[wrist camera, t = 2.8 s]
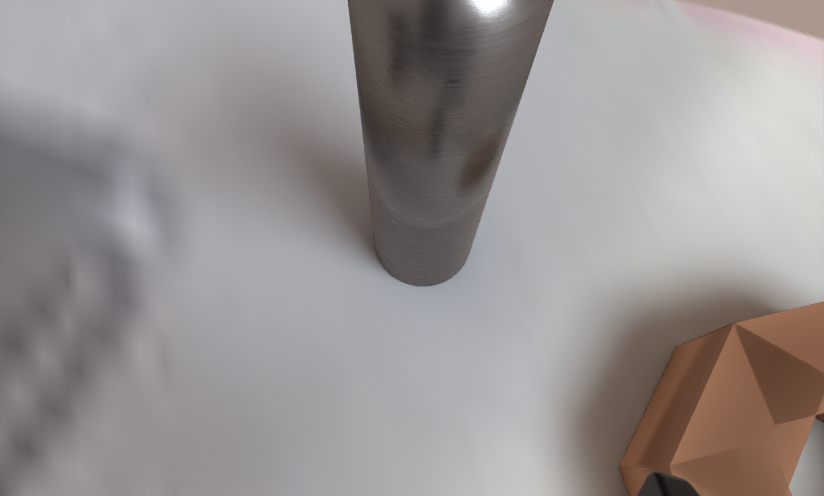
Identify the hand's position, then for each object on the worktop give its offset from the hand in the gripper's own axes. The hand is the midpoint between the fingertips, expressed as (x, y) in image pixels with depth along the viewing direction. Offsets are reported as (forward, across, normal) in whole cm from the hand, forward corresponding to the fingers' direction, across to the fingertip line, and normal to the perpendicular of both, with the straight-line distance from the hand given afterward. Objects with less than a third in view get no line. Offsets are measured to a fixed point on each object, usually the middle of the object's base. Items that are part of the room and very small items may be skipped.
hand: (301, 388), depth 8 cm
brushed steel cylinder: (+14, 0, +4) cm, 15 cm away
